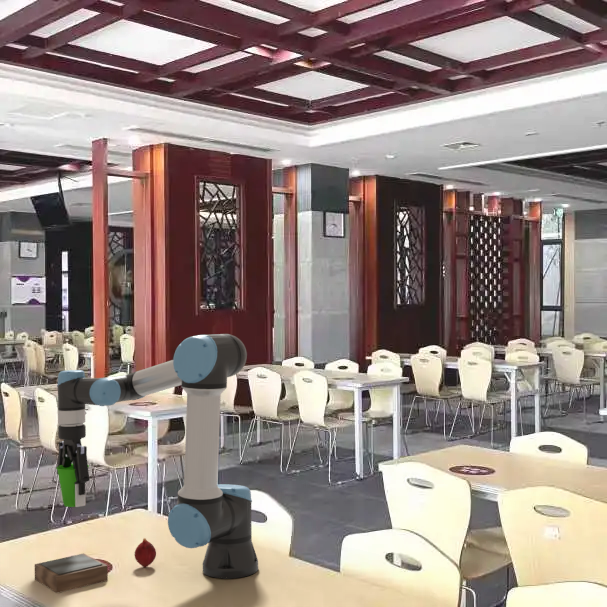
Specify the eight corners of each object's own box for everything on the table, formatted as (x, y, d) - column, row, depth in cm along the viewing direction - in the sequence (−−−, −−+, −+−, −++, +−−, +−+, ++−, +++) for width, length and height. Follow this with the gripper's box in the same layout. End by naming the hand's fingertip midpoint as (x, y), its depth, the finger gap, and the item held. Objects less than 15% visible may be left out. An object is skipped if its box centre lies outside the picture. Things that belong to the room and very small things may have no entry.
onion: (160, 565, 229) (160, 536, 229) (148, 571, 224) (147, 542, 224) (143, 562, 232) (142, 534, 232) (130, 568, 226) (130, 539, 226)
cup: (80, 509, 230) (79, 469, 230) (50, 508, 232) (50, 469, 232) (95, 501, 239) (94, 463, 239) (66, 500, 241) (65, 463, 241)
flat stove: (107, 580, 217) (107, 564, 217) (57, 592, 208) (56, 575, 208) (83, 567, 228) (83, 552, 228) (34, 579, 219) (34, 563, 219)
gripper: (101, 426, 230) (102, 507, 229) (68, 419, 246) (69, 494, 246) (75, 429, 225) (77, 512, 225) (44, 422, 241) (45, 498, 241)
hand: (73, 503), depth 235 cm, fingers closed on cup, 9 cm apart
